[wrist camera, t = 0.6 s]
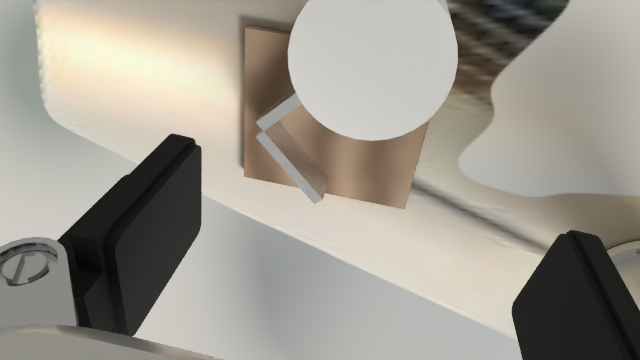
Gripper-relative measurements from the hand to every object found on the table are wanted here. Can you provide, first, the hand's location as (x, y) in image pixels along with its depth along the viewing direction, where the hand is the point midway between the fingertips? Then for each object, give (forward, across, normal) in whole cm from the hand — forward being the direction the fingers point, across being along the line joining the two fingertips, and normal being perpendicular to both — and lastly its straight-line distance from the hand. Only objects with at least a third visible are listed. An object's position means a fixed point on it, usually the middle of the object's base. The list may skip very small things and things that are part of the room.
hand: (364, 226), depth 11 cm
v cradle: (+34, +3, +14) cm, 37 cm away
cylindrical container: (+34, 0, -1) cm, 34 cm away
